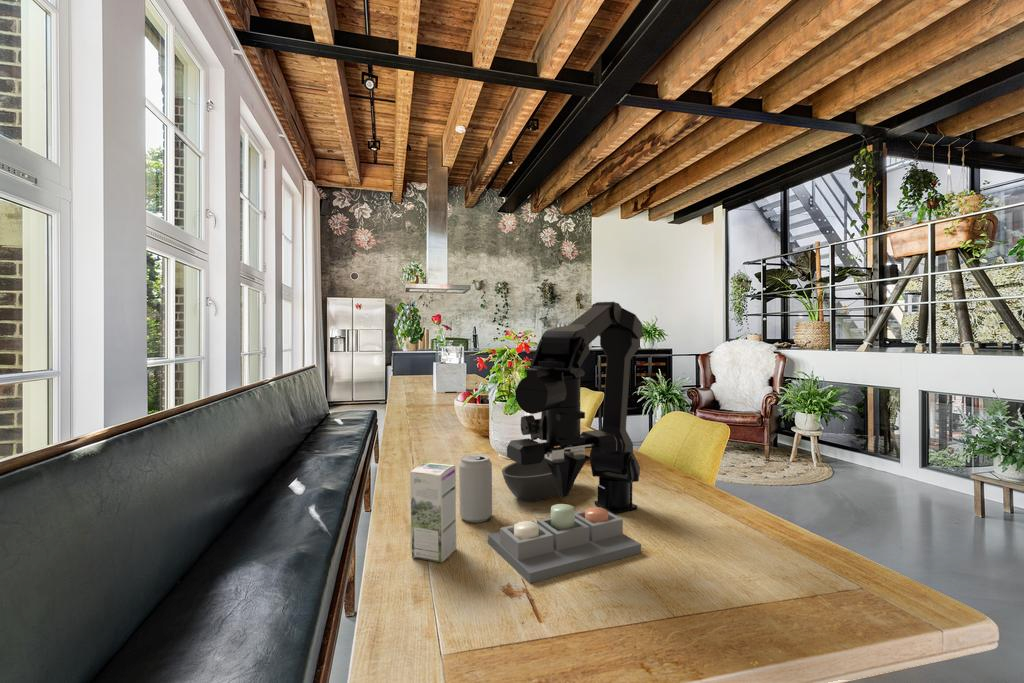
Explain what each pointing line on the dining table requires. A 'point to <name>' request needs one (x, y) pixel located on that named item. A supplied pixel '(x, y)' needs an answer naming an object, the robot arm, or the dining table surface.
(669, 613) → the dining table surface
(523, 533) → the cream button
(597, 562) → the panel
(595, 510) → the rust button
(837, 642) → the dining table surface
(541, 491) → the bowl
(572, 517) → the sage button
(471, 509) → the beverage can
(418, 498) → the syrup box
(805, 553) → the dining table surface
